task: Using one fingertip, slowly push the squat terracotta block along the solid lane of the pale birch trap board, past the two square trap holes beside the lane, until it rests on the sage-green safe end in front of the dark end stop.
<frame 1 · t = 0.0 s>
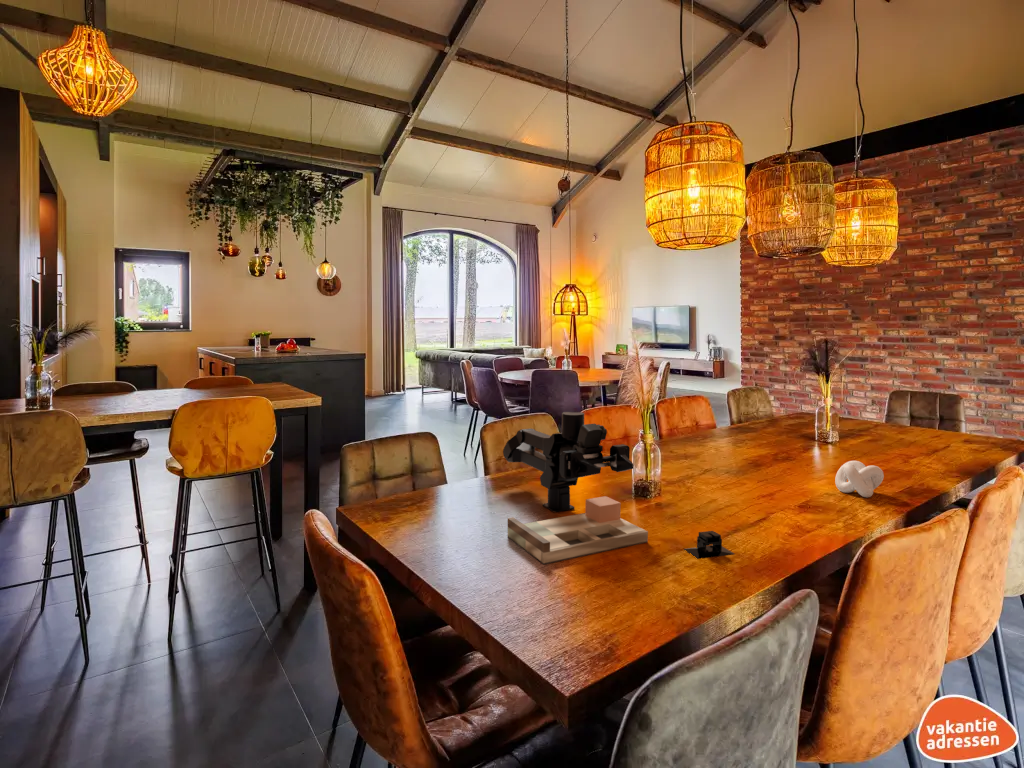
hand: (616, 468, 127), 17 cm above the table, tool horizontal, fingers open, 9 cm apart
black boxy piece: (708, 554, 121), on the table
white knot sculpture: (855, 493, 164), on the table
terracotta block: (602, 517, 136), point 2 cm above the table, touching trap board
trap board: (576, 539, 128), on the table
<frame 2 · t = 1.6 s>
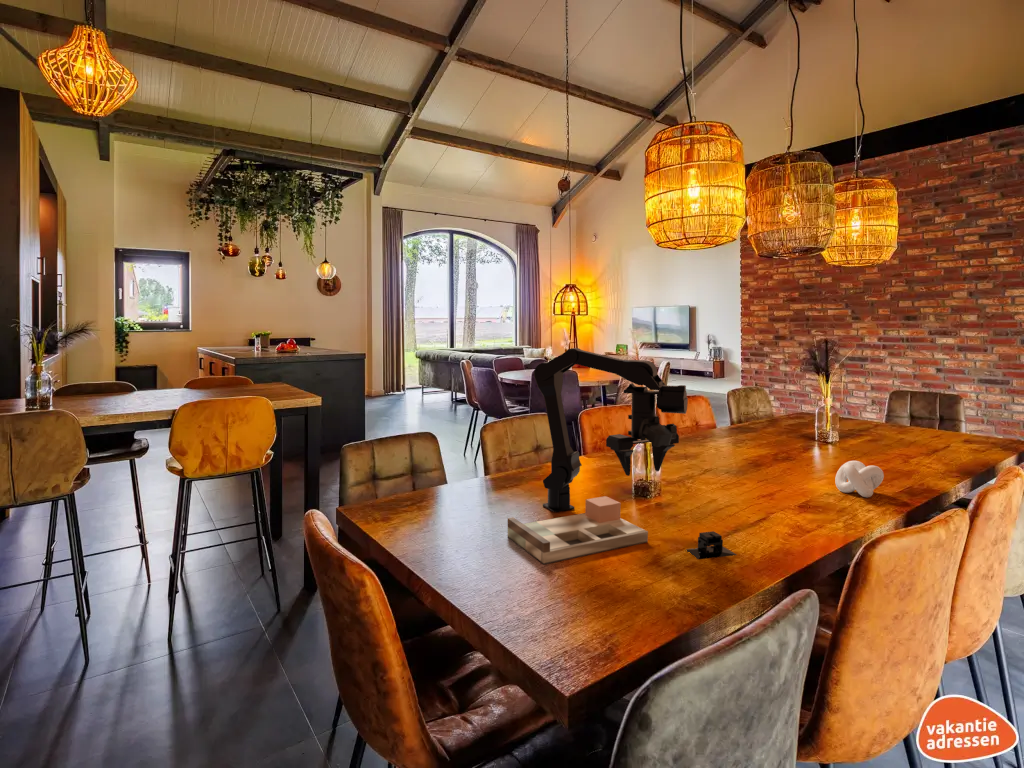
hand: (642, 473, 140), 12 cm above the table, tool pointing down, fingers open, 9 cm apart
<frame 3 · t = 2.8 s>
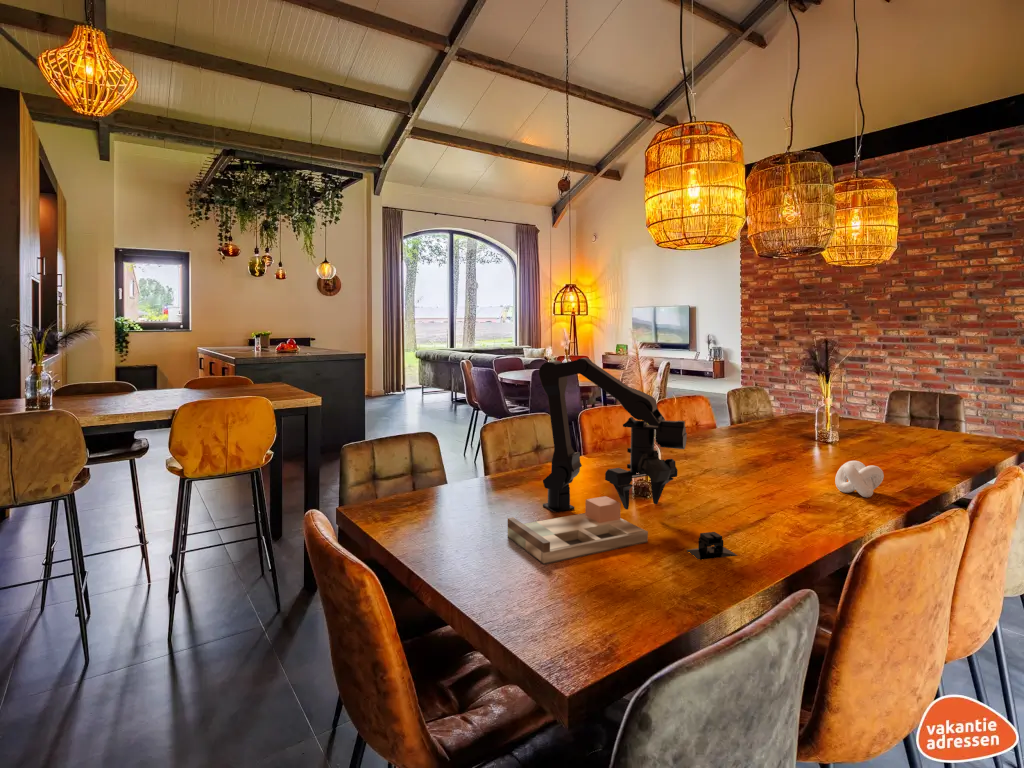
hand: (641, 506, 141), 3 cm above the table, tool pointing down, fingers open, 9 cm apart
nothing on the table moved.
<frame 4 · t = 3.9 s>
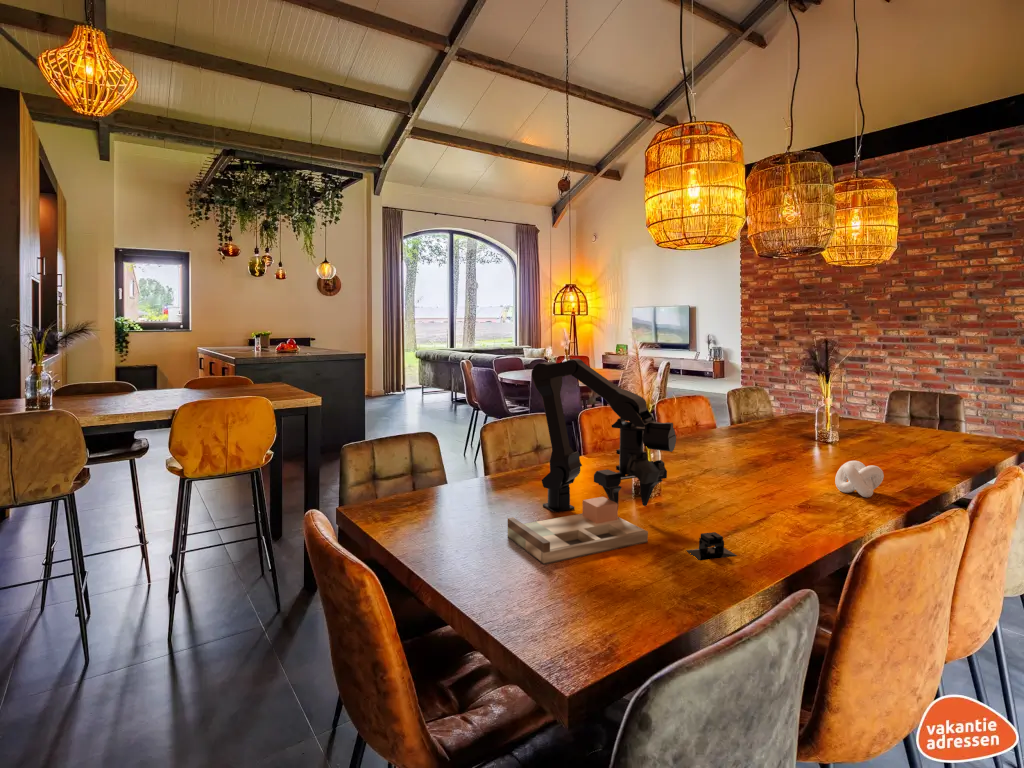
hand: (630, 508, 139), 3 cm above the table, tool pointing down, fingers open, 9 cm apart
terracotta block: (599, 517, 135), point 2 cm above the table, touching gripper, trap board
everything else where it was.
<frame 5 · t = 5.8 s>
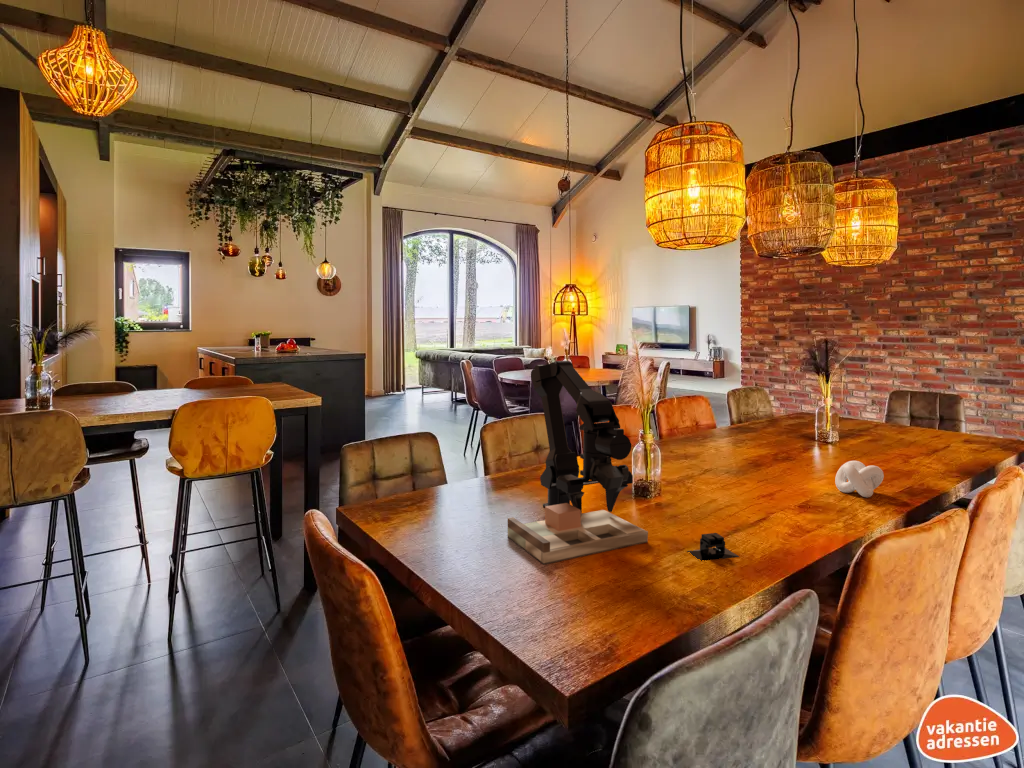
hand: (594, 514, 135), 4 cm above the table, tool pointing down, fingers open, 9 cm apart
terracotta block: (562, 524, 131), point 2 cm above the table, touching gripper, trap board
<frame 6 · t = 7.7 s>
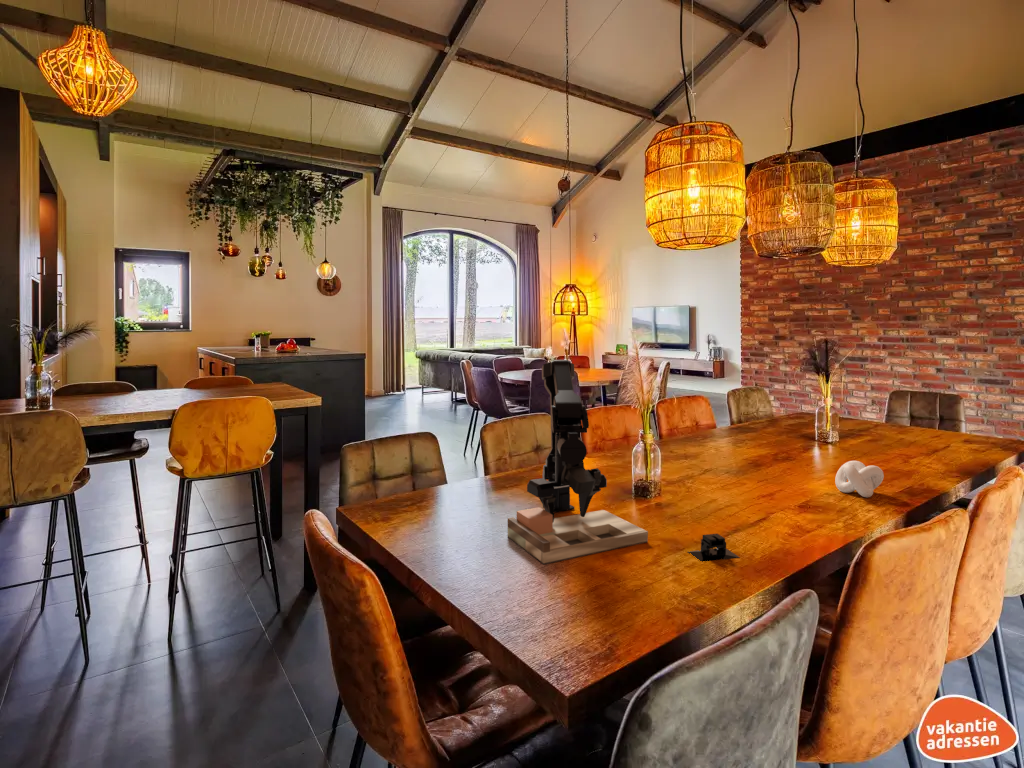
hand: (567, 519, 131), 4 cm above the table, tool pointing down, fingers open, 8 cm apart
terracotta block: (534, 529, 127), point 2 cm above the table, touching gripper, trap board
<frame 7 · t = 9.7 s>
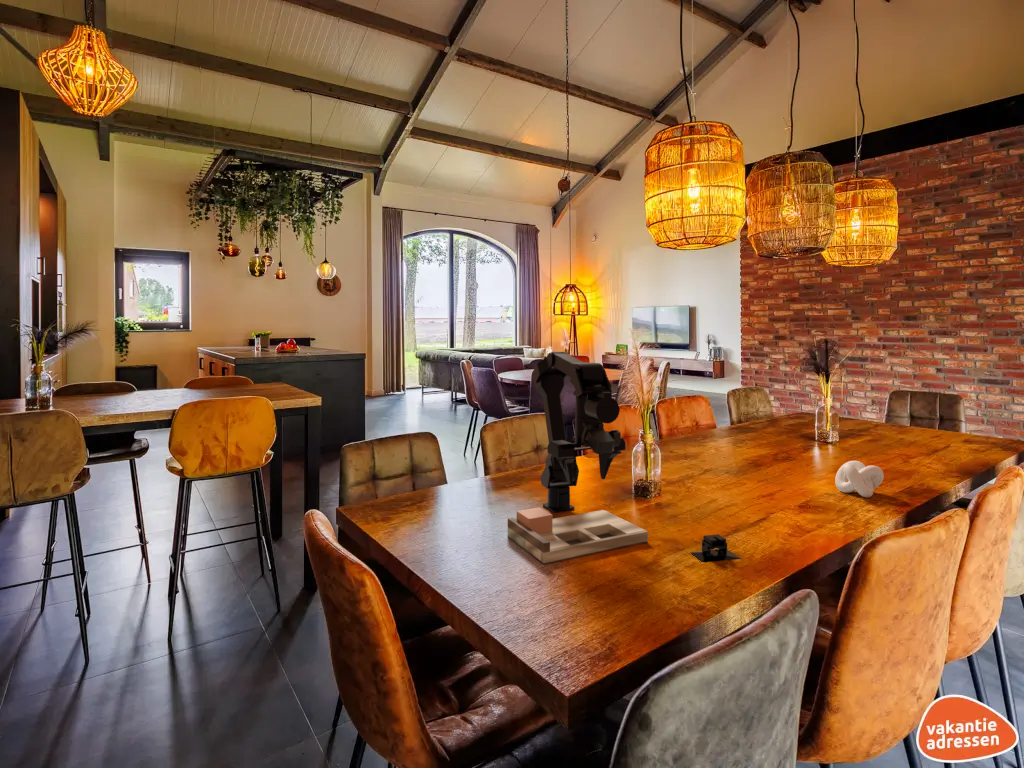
hand: (586, 481, 133), 12 cm above the table, tool pointing down, fingers open, 9 cm apart
terracotta block: (534, 529, 127), point 2 cm above the table, touching trap board
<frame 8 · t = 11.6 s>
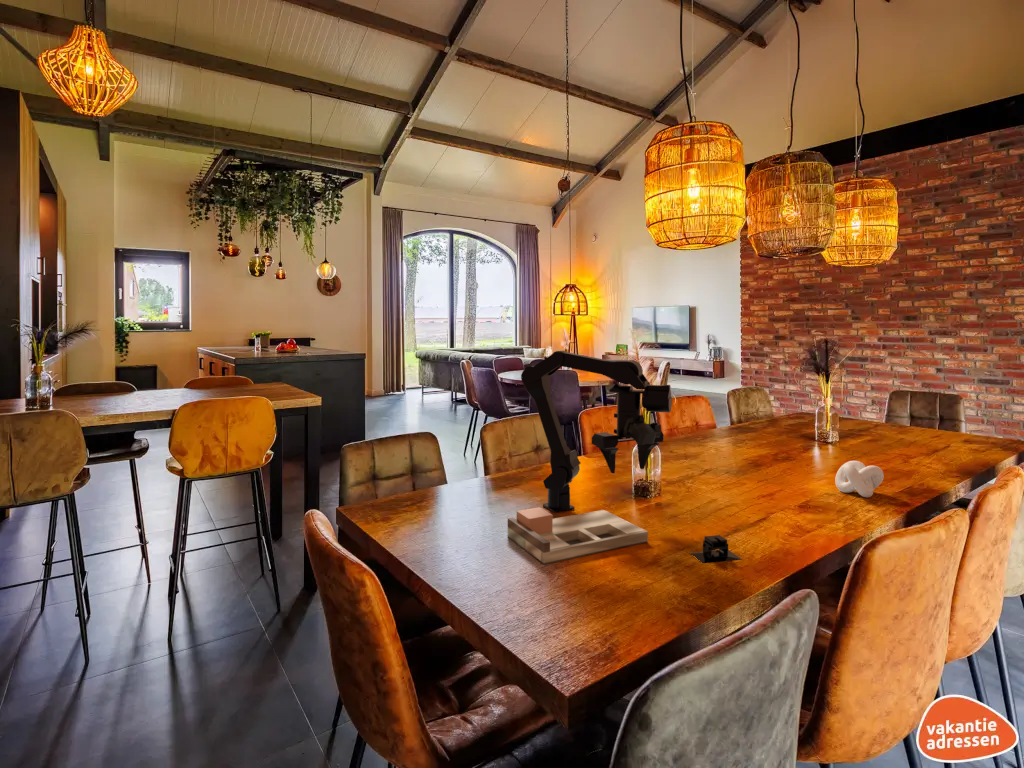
hand: (627, 470, 142), 12 cm above the table, tool pointing down, fingers open, 9 cm apart
at the end: terracotta block 0.5 cm from the target spot, point 2.5 cm above the table; terracotta block tilted 0° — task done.
